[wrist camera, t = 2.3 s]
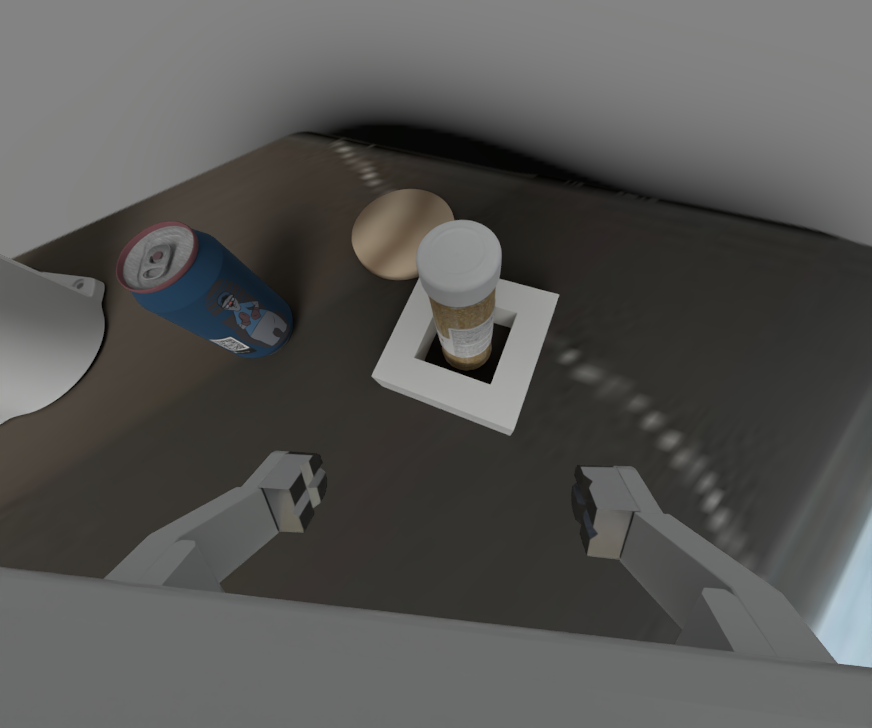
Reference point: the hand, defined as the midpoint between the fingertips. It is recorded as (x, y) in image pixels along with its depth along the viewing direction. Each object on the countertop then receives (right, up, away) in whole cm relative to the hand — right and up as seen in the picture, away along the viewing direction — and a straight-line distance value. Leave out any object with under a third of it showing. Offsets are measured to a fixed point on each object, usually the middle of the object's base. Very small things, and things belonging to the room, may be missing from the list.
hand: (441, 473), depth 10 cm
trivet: (-4, +17, +24) cm, 30 cm away
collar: (+3, +5, +19) cm, 20 cm away
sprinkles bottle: (+3, +5, +19) cm, 20 cm away
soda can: (-18, +7, +22) cm, 29 cm away
